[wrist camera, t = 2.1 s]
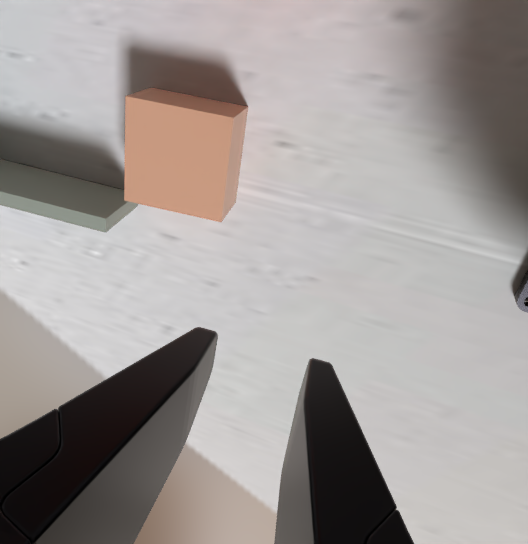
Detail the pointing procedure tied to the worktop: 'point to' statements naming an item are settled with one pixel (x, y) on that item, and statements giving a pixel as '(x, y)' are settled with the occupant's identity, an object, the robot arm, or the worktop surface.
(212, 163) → the tile
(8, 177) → the tray
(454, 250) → the worktop surface
